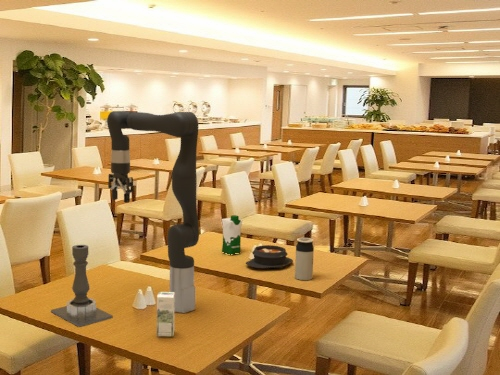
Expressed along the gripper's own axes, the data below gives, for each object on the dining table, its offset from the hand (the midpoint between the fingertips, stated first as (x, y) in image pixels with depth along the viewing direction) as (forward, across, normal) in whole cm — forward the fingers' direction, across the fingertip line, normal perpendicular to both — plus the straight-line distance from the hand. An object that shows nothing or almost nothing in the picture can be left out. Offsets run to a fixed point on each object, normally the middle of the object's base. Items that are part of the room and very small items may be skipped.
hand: (120, 201), depth 257 cm
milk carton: (+38, +15, -77) cm, 87 cm away
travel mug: (+38, -37, -73) cm, 90 cm away
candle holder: (+38, -12, +26) cm, 47 cm away
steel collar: (+38, -13, +26) cm, 48 cm away
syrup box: (+38, -48, +14) cm, 63 cm away
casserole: (+38, -13, -76) cm, 86 cm away
